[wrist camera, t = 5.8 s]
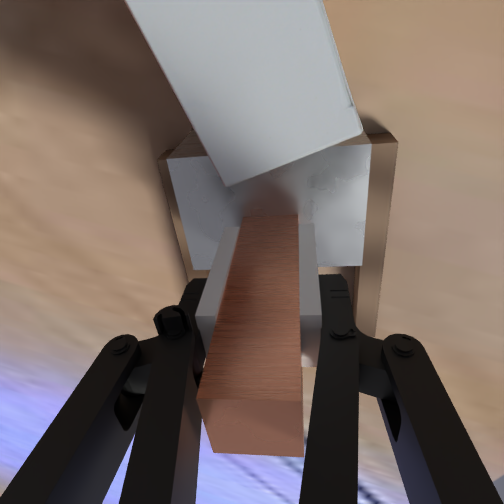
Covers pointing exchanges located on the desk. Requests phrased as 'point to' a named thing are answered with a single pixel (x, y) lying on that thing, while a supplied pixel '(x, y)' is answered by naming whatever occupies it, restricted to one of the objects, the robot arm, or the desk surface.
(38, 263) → the desk surface
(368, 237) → the frame
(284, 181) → the mallet
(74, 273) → the desk surface
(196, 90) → the small box
